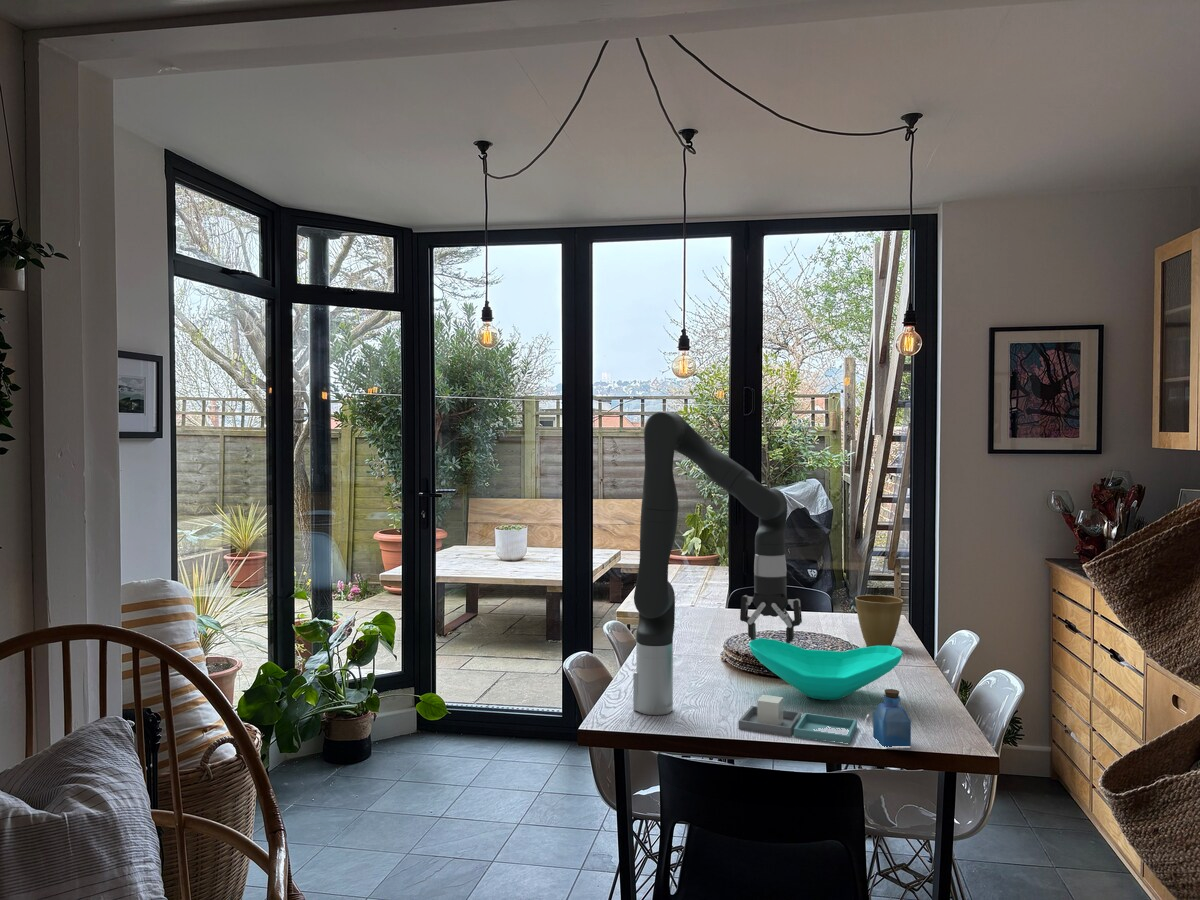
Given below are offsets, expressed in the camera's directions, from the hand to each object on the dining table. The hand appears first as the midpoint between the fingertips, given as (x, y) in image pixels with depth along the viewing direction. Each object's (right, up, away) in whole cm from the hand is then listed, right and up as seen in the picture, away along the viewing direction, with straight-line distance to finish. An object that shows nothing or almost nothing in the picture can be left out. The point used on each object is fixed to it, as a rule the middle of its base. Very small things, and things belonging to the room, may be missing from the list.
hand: (770, 641), depth 202 cm
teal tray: (+12, -21, -5) cm, 24 cm away
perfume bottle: (+25, -21, -11) cm, 34 cm away
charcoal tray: (0, -20, 0) cm, 20 cm away
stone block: (0, -20, 0) cm, 20 cm away
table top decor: (+19, -20, +24) cm, 36 cm away
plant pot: (+51, -19, +76) cm, 93 cm away
